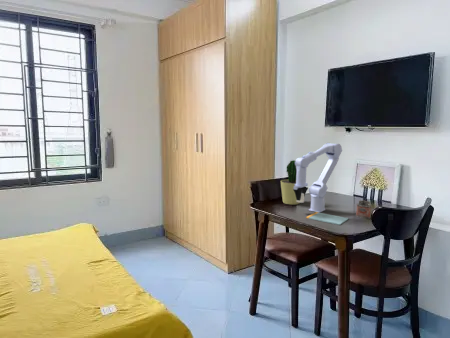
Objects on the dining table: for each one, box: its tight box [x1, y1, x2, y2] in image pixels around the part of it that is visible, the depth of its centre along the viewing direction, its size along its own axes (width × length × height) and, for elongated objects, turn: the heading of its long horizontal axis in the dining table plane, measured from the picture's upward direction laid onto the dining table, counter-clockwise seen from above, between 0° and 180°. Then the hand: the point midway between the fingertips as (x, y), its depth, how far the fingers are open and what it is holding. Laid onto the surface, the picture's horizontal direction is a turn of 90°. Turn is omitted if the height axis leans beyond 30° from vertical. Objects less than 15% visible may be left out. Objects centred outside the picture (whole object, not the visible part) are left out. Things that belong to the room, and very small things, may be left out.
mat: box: [305, 212, 349, 226], centre depth 187 cm, size 14×20×1 cm
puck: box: [296, 193, 305, 204], centre depth 198 cm, size 4×4×5 cm
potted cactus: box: [280, 159, 300, 205], centre depth 223 cm, size 15×15×30 cm
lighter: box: [355, 199, 372, 220], centre depth 191 cm, size 8×3×10 cm, turn 48°
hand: (300, 199), depth 198 cm, fingers closed on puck, 4 cm apart
